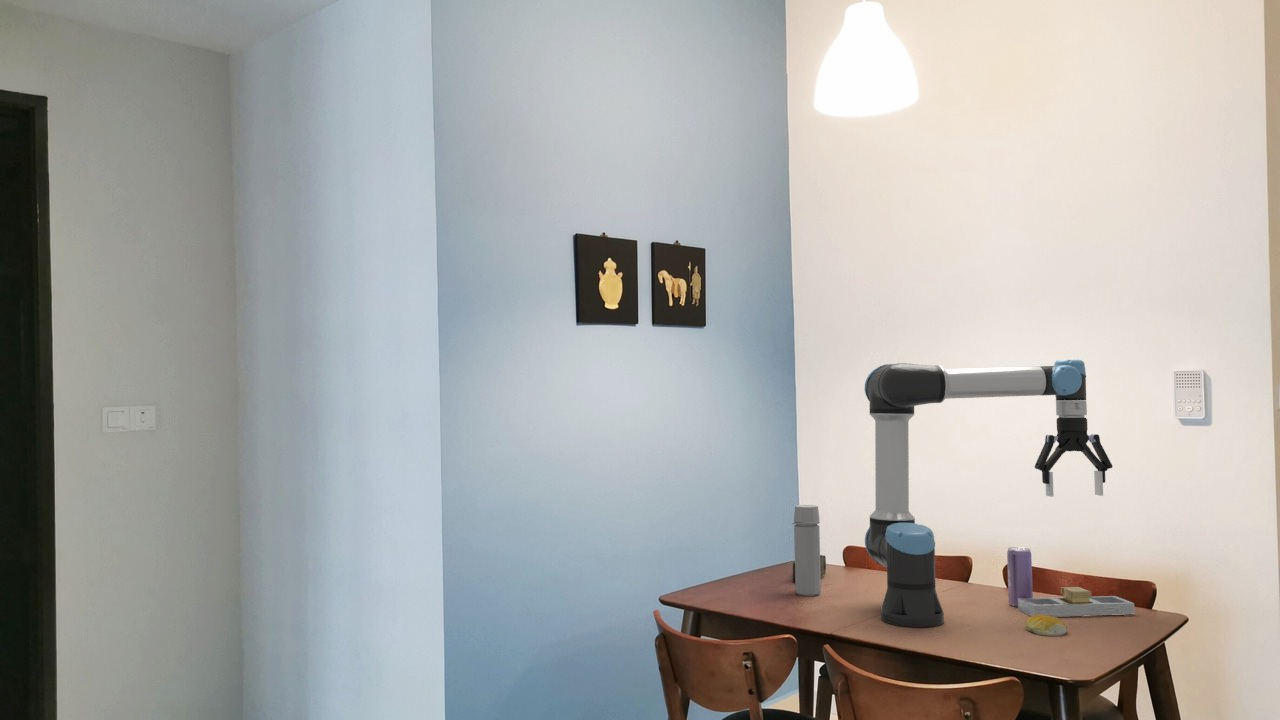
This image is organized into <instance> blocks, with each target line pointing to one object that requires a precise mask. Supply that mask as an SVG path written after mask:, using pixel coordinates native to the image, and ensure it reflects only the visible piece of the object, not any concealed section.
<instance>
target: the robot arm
mask: <svg viewBox="0 0 1280 720" xmlns="http://www.w3.org/2000/svg"><path fill="white" fill-rule="evenodd" d="M1085 365H1086V364H1085V362H1084V361H1083V360H1082V359H1058V360H1055V362H1054V365H1041V366H1034V365H1033V366H1008V367H1005V366H1004V367H999V366H998V367H974V368H973V367H972V368H968V367H967V368H965V367H964V368H944V367H943V366H941V365H939V364H937V365H932V364H931V365H930V364H929V365H927V364H918V363H917V364H916V363H915V364H914V363H907V362H906V363H905V362H901V363H900V362H898V363H889V364H883V365H880V366H878V367H876V368H875V369H873V370H872V371H870V373H869V374H868V375H867V377H866V378H865V379H866V380H865V383H864V393H865V394H864V395H865V396H866V399H867V400H868V401H869V415H870V416H871V417H872V419H873V420H874V421H875V422H874V425H875V426H874V427H875V428H874V429H875V430H874V431H875V433H874V434H875V435H874V436H875V437H874V438H875V439H874V440H875V442H874V443H875V445H874V446H875V447H874V448H875V452H874V453H875V459H874V461H875V463H874V464H875V466H874V467H875V483H874V484H875V510H874V511H873V512H872V513H871V514H870V515H869V527H868V529H867V530H866V533H865V536H864V545H865V549H866V551H867V554H868V555H869V556H870V557H871V559H872V560H873V561H874V562H875V563H876V564H878V565H880V566H882V567H885V568H886V583H887V586H886V587H887V588H886V591H885V595H884V598H883V600H882V605H881V609H880V619H881V621H882V622H885V623H887V624H891V625H894V626H901V627H908V628H909V627H910V628H911V627H912V628H913V627H914V628H927V627H928V628H929V627H936V626H940V625H942V624H944V622H945V616H944V615H945V614H944V609H943V607H942V604H941V602H940V599H939V596H938V593H937V588H936V587H937V586H936V553H935V552H936V551H935V549H936V541H935V536H934V532H933V530H932V529H931V528H930V527H928V526H926V525H923V524H918V523H916V519H915V516H914V515H913V514H912V513H911V512H910V507H909V506H910V505H909V504H910V501H909V499H910V497H909V496H910V495H909V492H910V491H909V489H910V488H909V483H910V482H909V480H910V479H909V474H910V473H909V472H910V471H909V468H910V467H909V460H910V459H909V457H910V456H909V421H910V420H911V419H912V418H913V417H914V416H915V406H921V405H927V404H928V405H929V404H941V403H943V402H944V401H945V400H946V399H948V400H949V399H973V398H977V399H978V398H1004V397H1008V398H1009V397H1027V396H1028V397H1032V396H1033V397H1034V396H1037V397H1038V396H1055V409H1056V410H1055V411H1056V412H1055V413H1056V416H1058V417H1057V418H1056V431H1057V434H1056V435H1053V434H1046V435H1045V439H1044V444H1043V447H1042V448H1041V451H1040V453H1039V455H1038V458H1037V461H1035V462H1036V463H1035V465H1034V469H1036V470H1038V471H1040V472H1041V480H1042V483H1043V484H1044V485H1045V496H1046V497H1054V472H1053V471H1051V469H1053V467H1054V466H1055V464H1056V463H1058V461H1059V460H1060V458H1061V457H1062V456H1063V455H1064V453H1065V454H1066V452H1081V453H1082V454H1083V455H1084V456H1085V457H1086V458H1087V460H1089V462H1090V463H1091V464H1092V465H1093V467H1095V469H1096V470H1094V471H1093V478H1094V480H1093V481H1094V495H1095V496H1100V497H1101V496H1102V497H1103V496H1104V485H1103V484H1105V483H1106V472H1107V471H1108V470H1109V469H1113V464H1112V462H1111V460H1110V458H1109V456H1108V454H1107V453H1106V451H1105V449H1104V446H1103V445H1102V443H1101V439H1100V435H1099V434H1095V433H1091V434H1088V418H1087V417H1085V416H1087V415H1088V409H1087V408H1088V407H1087V405H1088V404H1087V374H1086V373H1087V371H1086V367H1085ZM1056 442H1057V443H1058V445H1057V446H1056V448H1055V449H1054V451H1052V449H1053V447H1054V445H1055V443H1056ZM1088 442H1089V443H1091V445H1092V448H1093V449H1094V452H1095V453H1094V452H1093V451H1092V449H1091V448H1090V446H1088V445H1087V443H1088ZM1051 452H1052V453H1051ZM1050 454H1051V455H1050ZM1095 454H1096V455H1095Z"/></svg>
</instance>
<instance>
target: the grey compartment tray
mask: <svg viewBox="0 0 1280 720" xmlns="http://www.w3.org/2000/svg"><path fill="white" fill-rule="evenodd" d="M1089 601H1090V603H1084V604H1069V603H1066V602H1064V601H1063V596H1061V597H1060V596H1059V597H1053V596H1052V597H1033V598H1018V607H1017V608H1018V611H1020V612H1021V613H1023V614H1026V615H1028V616H1030V617H1031V616H1033V615H1037V614H1044V615H1048V616H1053V617H1056V618H1071V617H1070V616H1082V617H1085V616H1084V615H1112V614H1131V613H1136V610H1135V602H1132V601H1129V600H1127V599H1125V598H1121V597H1119V596H1116V595H1108V596H1106V595H1101V596H1100V595H1099V596H1092V598H1089Z"/></svg>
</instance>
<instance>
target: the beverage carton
mask: <svg viewBox="0 0 1280 720" xmlns="http://www.w3.org/2000/svg"><path fill="white" fill-rule="evenodd" d="M826 560H827V558H826V555H821V554H820V576H821V579H823V577H824V576H825V574H826V570H827V562H826ZM824 573H825V574H824ZM823 575H824V576H823ZM822 576H823V577H822ZM793 582H795V561H794V562H793V564H792V583H793Z"/></svg>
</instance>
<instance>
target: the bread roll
mask: <svg viewBox="0 0 1280 720" xmlns="http://www.w3.org/2000/svg"><path fill="white" fill-rule="evenodd" d="M1025 627H1026V630H1027V631H1028V632H1030V633H1034V634H1036V635H1040V636H1045V637H1046V636H1047V637H1048V636H1049V637H1052V636H1053V637H1055V636H1063V635H1066V632H1067V630H1068V628H1067V625H1066V623H1065V622H1064V621H1062V619H1060V618H1059V617H1053V616H1048V615H1044V614H1037V615H1033V616H1030V617H1028V618H1027V620H1026V622H1025Z"/></svg>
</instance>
